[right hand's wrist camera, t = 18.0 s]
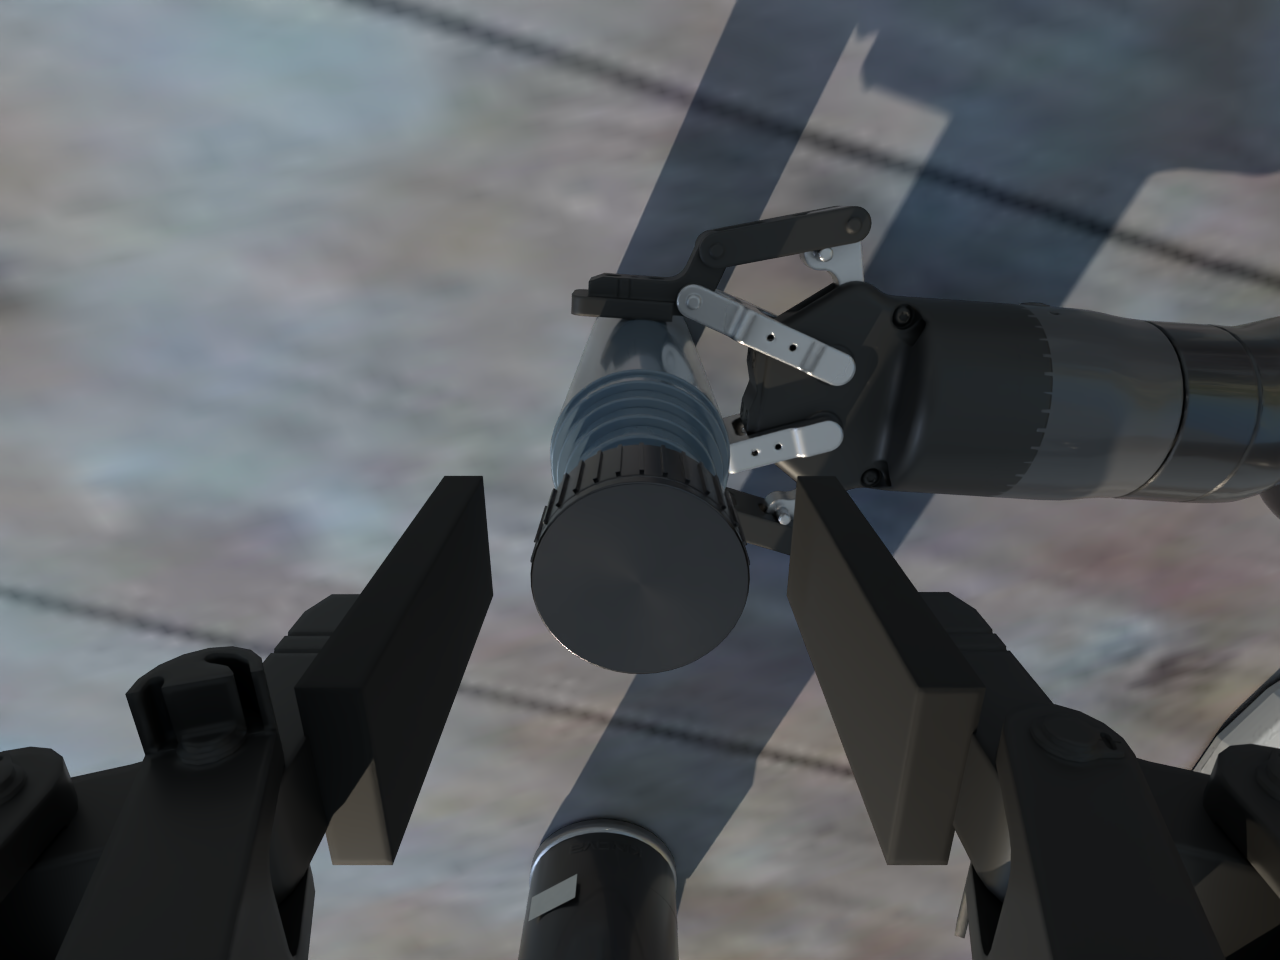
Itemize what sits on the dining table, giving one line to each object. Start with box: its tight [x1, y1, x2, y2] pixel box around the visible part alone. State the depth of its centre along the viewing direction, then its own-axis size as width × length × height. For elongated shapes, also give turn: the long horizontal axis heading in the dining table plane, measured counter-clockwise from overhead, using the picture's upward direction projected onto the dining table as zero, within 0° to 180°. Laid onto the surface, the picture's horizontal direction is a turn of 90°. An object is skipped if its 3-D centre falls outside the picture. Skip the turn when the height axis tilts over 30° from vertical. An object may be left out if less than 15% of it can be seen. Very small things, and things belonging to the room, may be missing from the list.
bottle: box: [550, 315, 730, 490], centre depth 23 cm, size 5×5×22 cm
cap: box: [531, 443, 750, 674], centre depth 14 cm, size 4×4×2 cm
